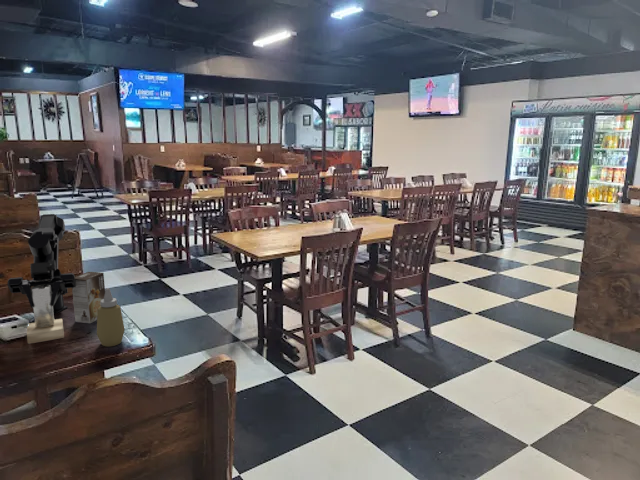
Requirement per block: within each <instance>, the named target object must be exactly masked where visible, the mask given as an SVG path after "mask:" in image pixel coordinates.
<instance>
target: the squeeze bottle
mask: <svg viewBox="0 0 640 480" xmlns="http://www.w3.org/2000/svg"><path fill="white" fill-rule="evenodd" d="M100 305H101V306H100V307H99V308H98V311H97V320H96V336H97V338H98V340H99V342H100V344H101V346H103V347H115V346H117V345H119V344H121V343H122V341H123V338H124V335H125V324H124V319H123V313H122V309H121V306H120V305H118V300H117V298H115V297H113V294H112V291H111V289H110V288H109V287H108V288H105V296H104V299H102V300H101V301H100Z"/></svg>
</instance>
